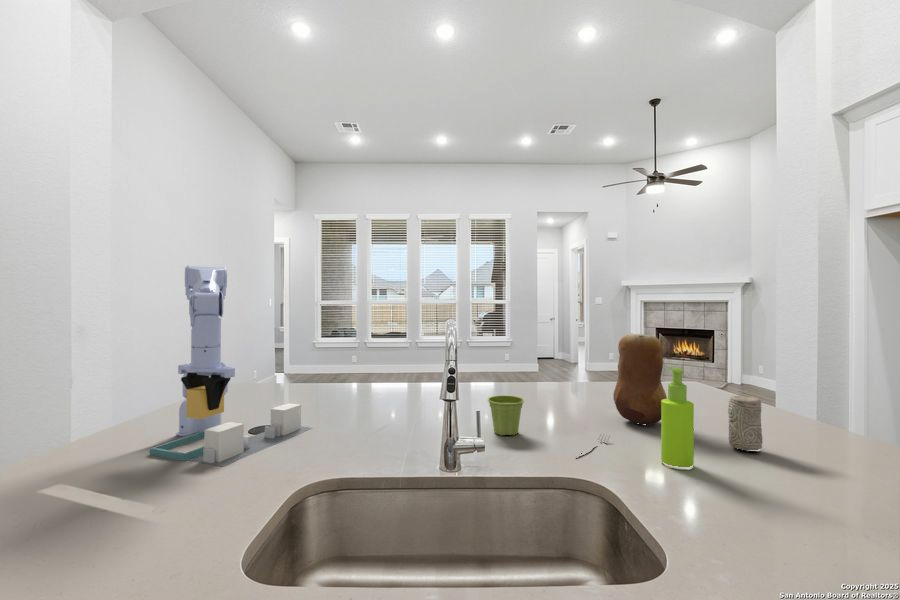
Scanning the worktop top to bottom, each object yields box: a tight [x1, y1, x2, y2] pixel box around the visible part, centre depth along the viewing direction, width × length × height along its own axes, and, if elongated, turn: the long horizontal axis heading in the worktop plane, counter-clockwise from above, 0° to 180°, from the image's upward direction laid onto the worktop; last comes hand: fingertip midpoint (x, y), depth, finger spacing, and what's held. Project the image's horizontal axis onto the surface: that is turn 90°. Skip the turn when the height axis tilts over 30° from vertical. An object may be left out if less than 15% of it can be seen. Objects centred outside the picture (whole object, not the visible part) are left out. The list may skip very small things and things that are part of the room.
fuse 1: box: [203, 421, 245, 462], centre depth 88 cm, size 4×6×6 cm, turn 160°
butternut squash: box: [613, 332, 668, 426], centre depth 118 cm, size 14×13×25 cm
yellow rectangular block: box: [186, 386, 225, 419], centre depth 93 cm, size 4×6×6 cm, turn 161°
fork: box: [580, 433, 610, 454], centre depth 97 cm, size 3×16×2 cm, turn 138°
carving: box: [727, 395, 764, 451], centre depth 97 cm, size 6×8×12 cm
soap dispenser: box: [660, 366, 695, 467], centre depth 88 cm, size 6×7×20 cm
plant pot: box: [487, 394, 525, 436], centre depth 109 cm, size 9×9×9 cm
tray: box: [149, 431, 205, 462], centre depth 93 cm, size 10×14×3 cm
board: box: [187, 423, 313, 468], centre depth 96 cm, size 9×27×4 cm, turn 160°
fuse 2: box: [270, 403, 302, 435], centre depth 105 cm, size 4×6×6 cm, turn 160°
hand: (205, 408), depth 93 cm, fingers closed on yellow rectangular block, 4 cm apart
